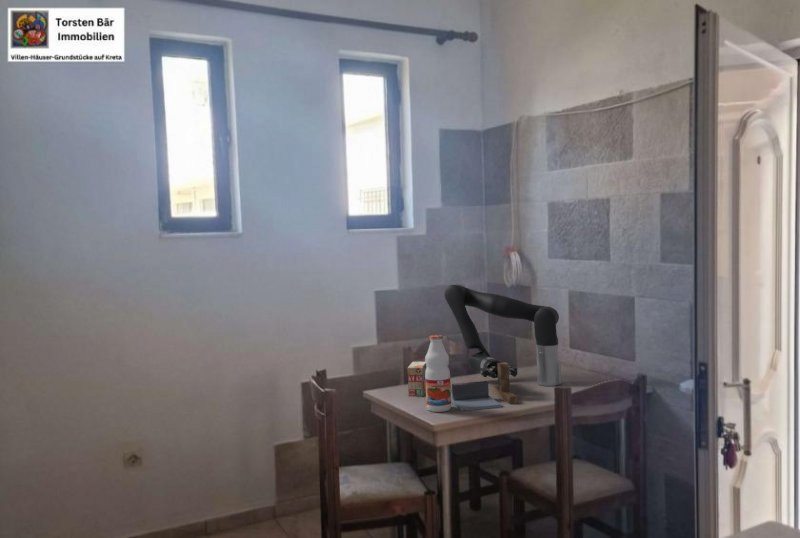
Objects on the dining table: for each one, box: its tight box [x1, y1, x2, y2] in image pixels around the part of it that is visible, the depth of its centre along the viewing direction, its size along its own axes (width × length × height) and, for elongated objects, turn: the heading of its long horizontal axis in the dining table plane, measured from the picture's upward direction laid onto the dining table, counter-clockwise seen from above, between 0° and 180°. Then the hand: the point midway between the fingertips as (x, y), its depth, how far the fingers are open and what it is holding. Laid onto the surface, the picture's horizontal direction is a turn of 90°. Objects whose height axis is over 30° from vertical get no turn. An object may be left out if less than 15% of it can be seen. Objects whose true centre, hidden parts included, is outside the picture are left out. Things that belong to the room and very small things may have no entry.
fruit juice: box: [424, 334, 452, 413], centre depth 235 cm, size 9×9×28 cm
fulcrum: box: [451, 380, 502, 412], centre depth 246 cm, size 16×26×7 cm, turn 11°
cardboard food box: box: [407, 361, 427, 397], centre depth 267 cm, size 21×6×12 cm, turn 169°
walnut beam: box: [491, 361, 518, 405], centre depth 248 cm, size 4×20×14 cm, turn 11°
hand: (505, 374), depth 246 cm, fingers open, 8 cm apart
